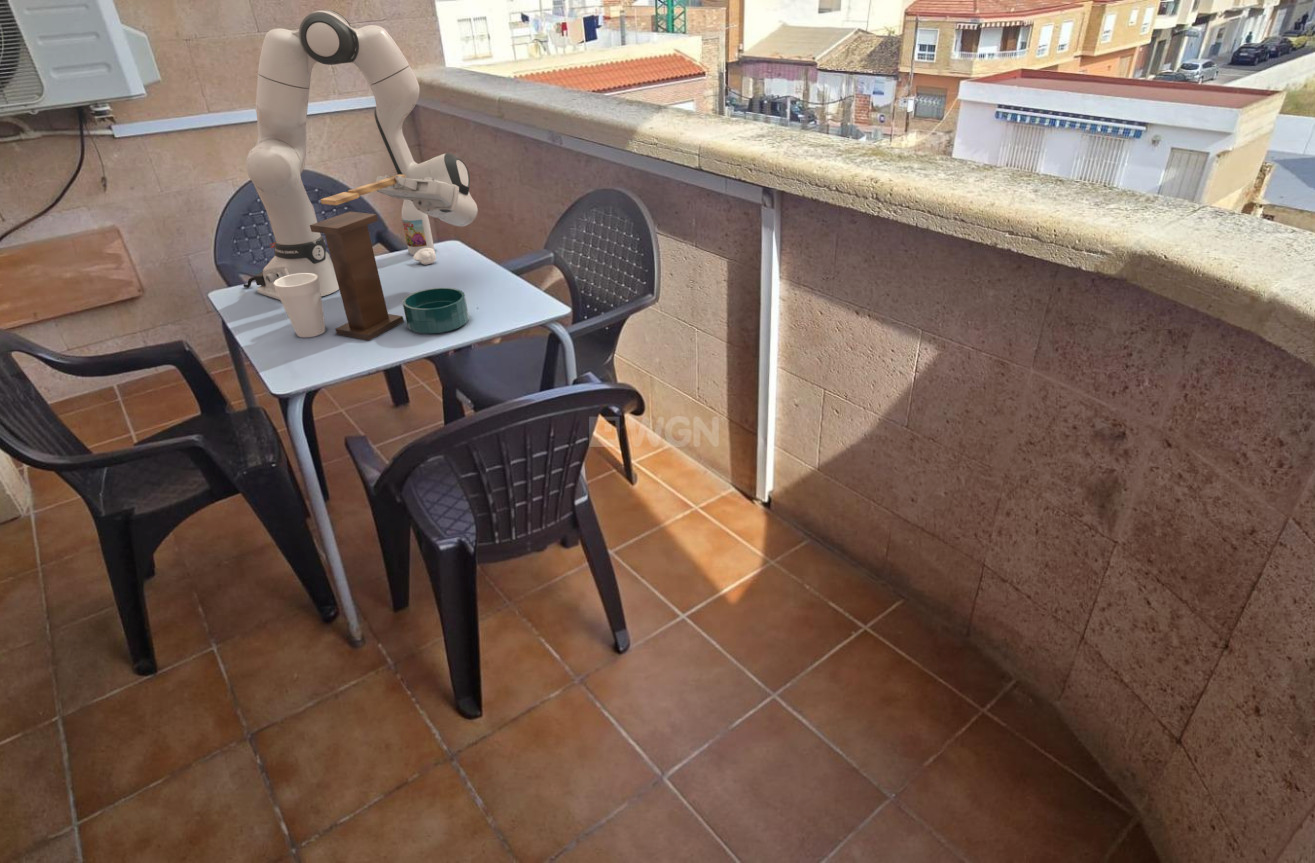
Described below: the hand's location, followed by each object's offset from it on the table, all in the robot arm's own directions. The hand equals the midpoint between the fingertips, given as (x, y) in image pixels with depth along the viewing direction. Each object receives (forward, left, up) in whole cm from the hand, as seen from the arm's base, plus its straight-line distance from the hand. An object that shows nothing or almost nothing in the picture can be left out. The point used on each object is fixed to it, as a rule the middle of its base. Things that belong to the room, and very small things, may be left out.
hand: (391, 178), depth 172 cm
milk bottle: (-28, +36, -31) cm, 55 cm away
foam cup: (-12, -24, -31) cm, 41 cm away
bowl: (+14, -9, -31) cm, 35 cm away
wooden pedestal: (0, -17, -31) cm, 36 cm away
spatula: (0, -8, -1) cm, 8 cm away
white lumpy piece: (-20, +28, -31) cm, 47 cm away
